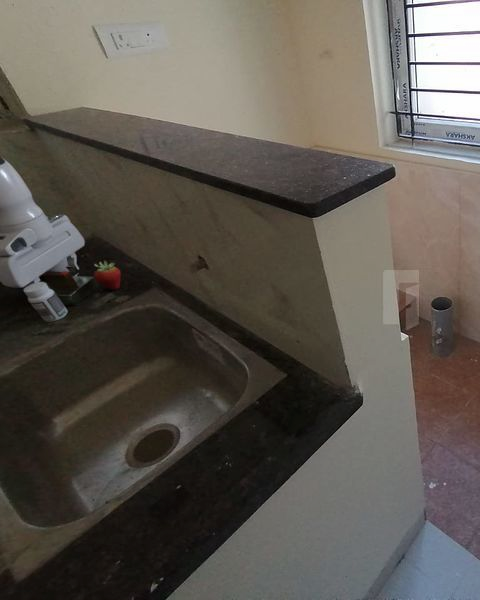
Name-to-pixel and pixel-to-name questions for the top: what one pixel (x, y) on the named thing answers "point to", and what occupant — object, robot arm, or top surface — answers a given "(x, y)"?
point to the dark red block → (59, 279)
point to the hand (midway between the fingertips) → (61, 280)
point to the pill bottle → (45, 302)
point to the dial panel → (76, 290)
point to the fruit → (108, 275)
